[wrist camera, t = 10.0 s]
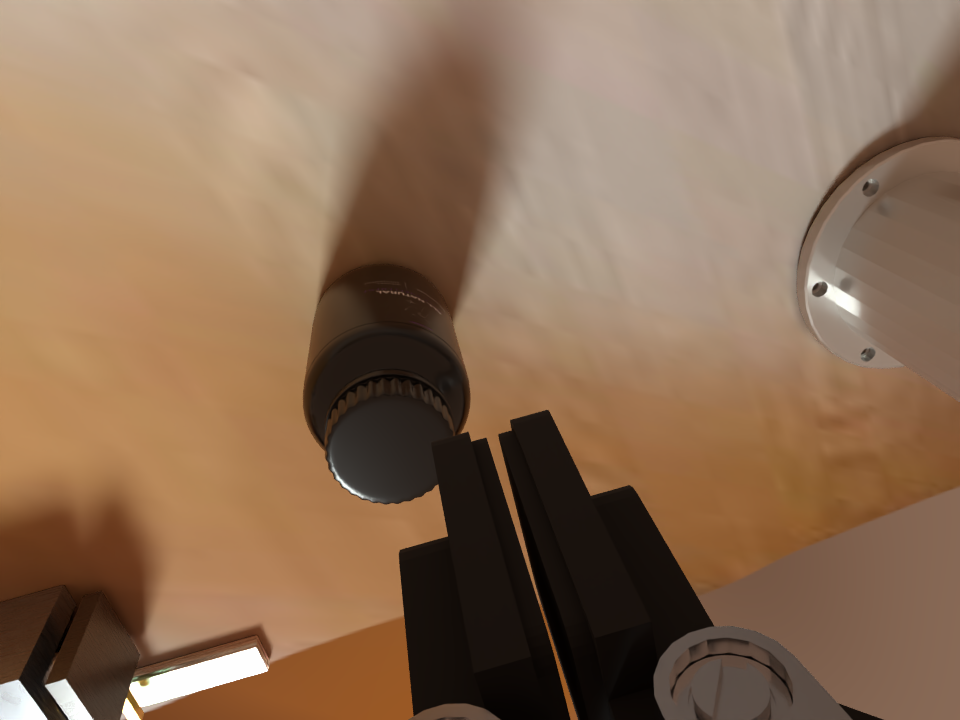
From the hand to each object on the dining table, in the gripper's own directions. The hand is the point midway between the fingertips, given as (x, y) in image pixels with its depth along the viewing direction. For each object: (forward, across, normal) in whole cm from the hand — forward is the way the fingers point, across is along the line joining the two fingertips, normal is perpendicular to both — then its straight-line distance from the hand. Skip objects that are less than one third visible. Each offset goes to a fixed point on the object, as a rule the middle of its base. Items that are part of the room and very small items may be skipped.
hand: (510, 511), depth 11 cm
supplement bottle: (+27, +3, +8) cm, 29 cm away
